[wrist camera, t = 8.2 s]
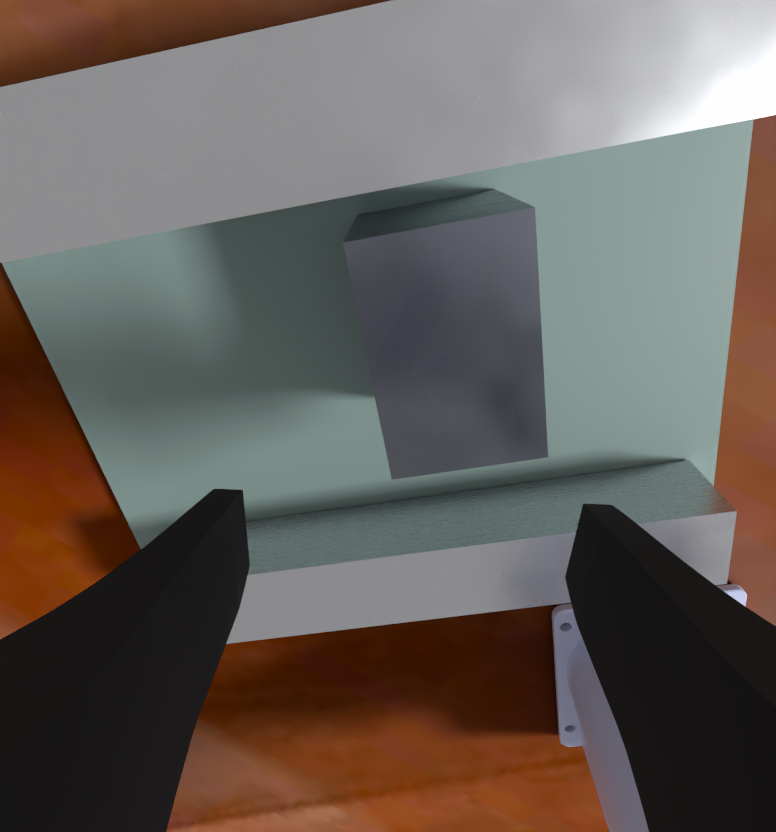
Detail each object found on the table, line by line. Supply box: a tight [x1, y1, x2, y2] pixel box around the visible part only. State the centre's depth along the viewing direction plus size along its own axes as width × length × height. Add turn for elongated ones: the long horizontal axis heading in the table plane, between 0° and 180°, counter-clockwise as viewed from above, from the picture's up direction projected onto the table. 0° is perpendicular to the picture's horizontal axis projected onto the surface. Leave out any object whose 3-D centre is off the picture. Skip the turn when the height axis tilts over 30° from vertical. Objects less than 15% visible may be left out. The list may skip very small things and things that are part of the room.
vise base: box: [0, 0, 776, 549], centre depth 16 cm, size 18×22×6 cm
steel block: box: [343, 189, 548, 480], centre depth 15 cm, size 6×4×5 cm, turn 10°
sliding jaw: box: [156, 460, 737, 644], centre depth 20 cm, size 3×20×3 cm, turn 100°
